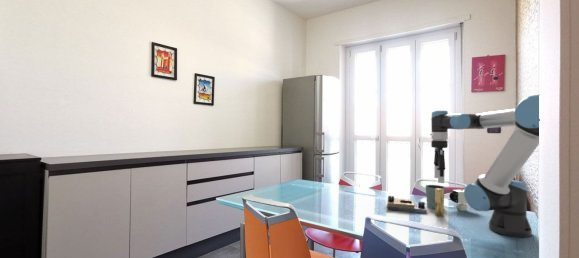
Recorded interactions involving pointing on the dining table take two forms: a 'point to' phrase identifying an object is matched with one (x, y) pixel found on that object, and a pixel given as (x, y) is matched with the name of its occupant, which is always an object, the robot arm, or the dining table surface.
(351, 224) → the dining table surface
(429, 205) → the grey green open container
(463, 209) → the white camera
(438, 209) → the brass pin
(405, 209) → the brown block with knobs
